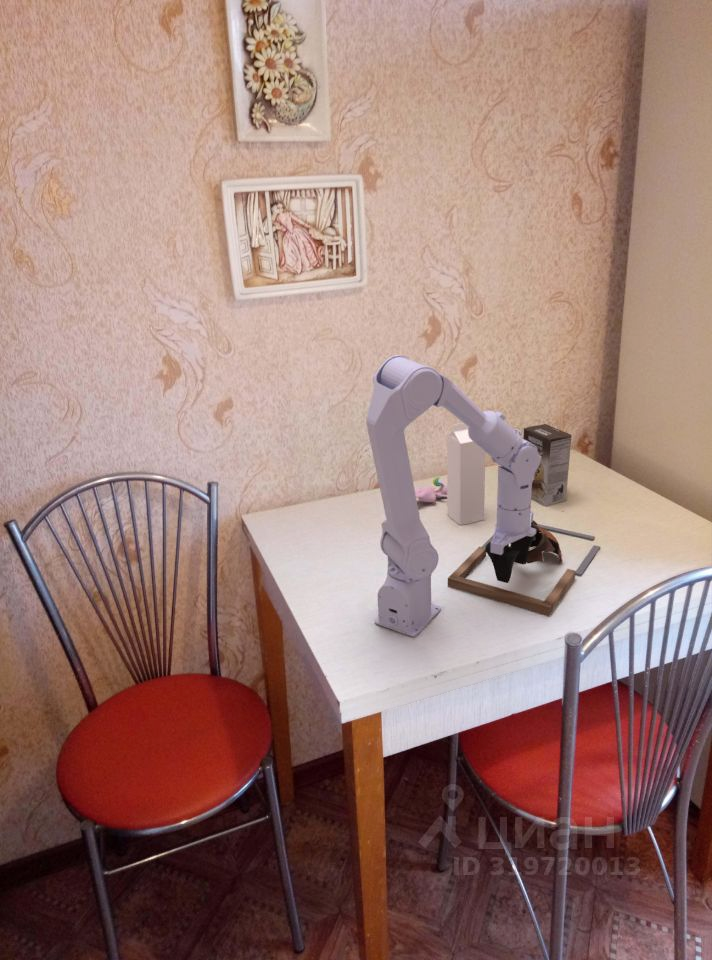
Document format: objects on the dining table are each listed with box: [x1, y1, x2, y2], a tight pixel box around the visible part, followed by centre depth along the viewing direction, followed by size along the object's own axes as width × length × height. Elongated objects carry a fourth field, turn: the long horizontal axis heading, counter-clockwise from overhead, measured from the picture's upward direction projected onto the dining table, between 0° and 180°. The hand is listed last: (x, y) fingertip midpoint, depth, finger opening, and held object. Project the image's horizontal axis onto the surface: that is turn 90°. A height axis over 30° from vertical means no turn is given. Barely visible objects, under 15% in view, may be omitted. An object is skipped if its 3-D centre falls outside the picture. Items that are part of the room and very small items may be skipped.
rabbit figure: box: [414, 477, 447, 503], centre depth 157 cm, size 6×6×15 cm
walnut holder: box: [447, 546, 576, 617], centre depth 124 cm, size 14×19×2 cm
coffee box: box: [522, 423, 572, 507], centre depth 154 cm, size 9×6×16 cm
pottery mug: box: [509, 519, 563, 565], centre depth 131 cm, size 12×10×8 cm
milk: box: [446, 422, 486, 526], centre depth 145 cm, size 6×6×22 cm
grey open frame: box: [481, 523, 601, 577], centre depth 136 cm, size 16×20×1 cm
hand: (511, 571), depth 123 cm, fingers open, 7 cm apart
